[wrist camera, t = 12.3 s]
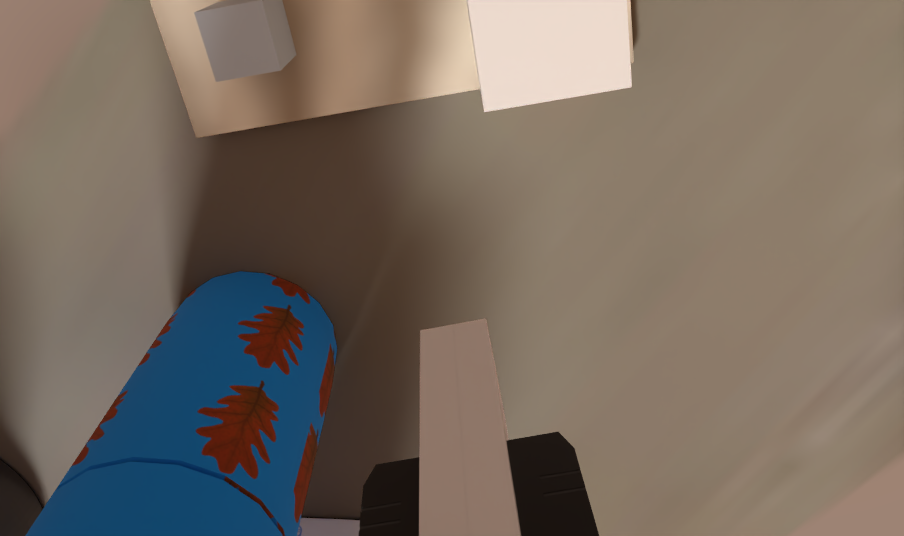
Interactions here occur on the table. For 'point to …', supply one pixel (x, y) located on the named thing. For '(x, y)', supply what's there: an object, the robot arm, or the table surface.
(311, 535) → the string lights box
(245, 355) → the thermos
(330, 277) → the table surface
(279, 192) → the table surface
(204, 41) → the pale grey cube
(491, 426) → the robot arm
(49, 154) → the table surface
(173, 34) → the board
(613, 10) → the white tilted cube
